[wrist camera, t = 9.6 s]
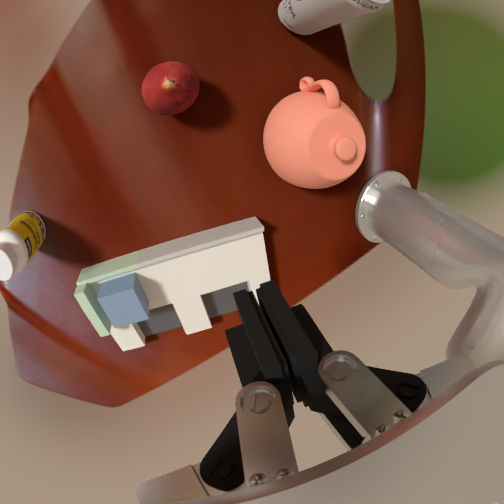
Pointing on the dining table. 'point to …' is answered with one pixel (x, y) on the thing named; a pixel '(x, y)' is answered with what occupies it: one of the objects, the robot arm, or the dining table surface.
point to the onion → (170, 88)
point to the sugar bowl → (314, 137)
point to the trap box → (181, 280)
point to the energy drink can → (323, 13)
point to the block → (124, 300)
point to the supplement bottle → (20, 243)
